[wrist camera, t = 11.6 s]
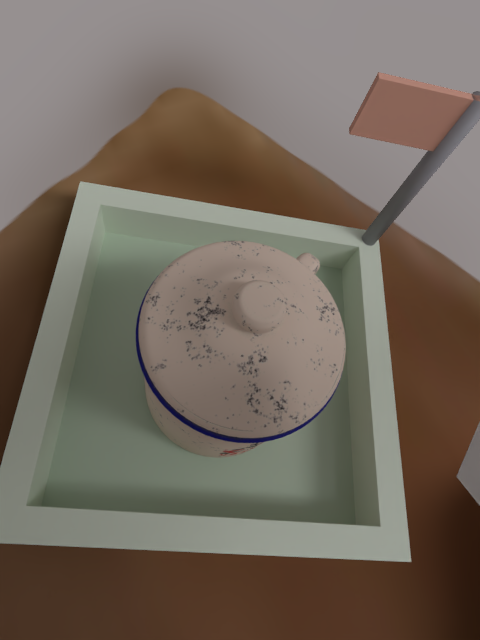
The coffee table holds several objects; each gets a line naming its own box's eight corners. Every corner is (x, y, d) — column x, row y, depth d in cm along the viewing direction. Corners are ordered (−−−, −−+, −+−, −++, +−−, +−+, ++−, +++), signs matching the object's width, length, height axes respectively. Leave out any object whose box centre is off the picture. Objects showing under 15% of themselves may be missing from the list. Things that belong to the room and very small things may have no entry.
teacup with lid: (230, 498, 23) (295, 491, 13) (107, 393, 24) (72, 308, 14) (337, 344, 28) (446, 249, 18) (232, 263, 29) (277, 128, 19)
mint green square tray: (355, 259, 32) (493, 91, 19) (377, 554, 24) (646, 612, 11) (88, 216, 29) (36, -16, 16) (5, 537, 21) (-238, 586, 8)
